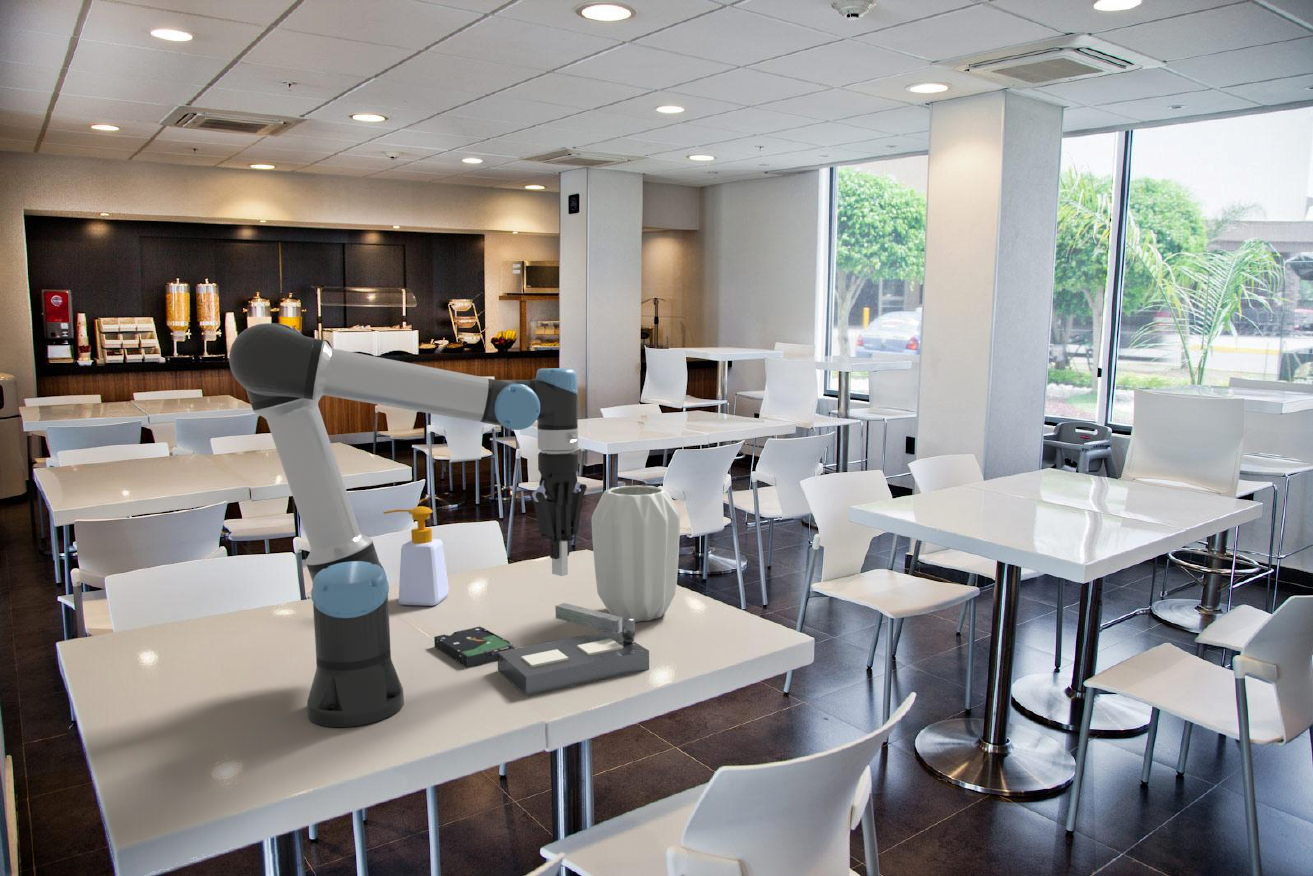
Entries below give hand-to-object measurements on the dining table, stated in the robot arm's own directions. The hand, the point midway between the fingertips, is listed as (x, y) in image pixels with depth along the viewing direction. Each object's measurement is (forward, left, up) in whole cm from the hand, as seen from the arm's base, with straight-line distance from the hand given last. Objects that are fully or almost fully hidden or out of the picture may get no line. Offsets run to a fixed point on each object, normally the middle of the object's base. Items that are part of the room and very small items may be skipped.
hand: (559, 574), depth 173 cm
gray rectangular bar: (+7, -1, -11) cm, 13 cm away
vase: (+25, +15, -16) cm, 33 cm away
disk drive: (-14, +11, -17) cm, 24 cm away
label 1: (-7, -9, -12) cm, 17 cm away
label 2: (+4, -9, -12) cm, 16 cm away
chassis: (-1, -8, -16) cm, 18 cm away
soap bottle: (-14, +51, -16) cm, 55 cm away
